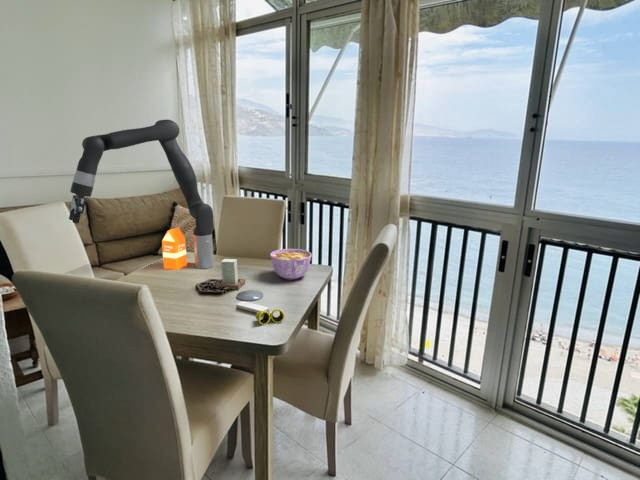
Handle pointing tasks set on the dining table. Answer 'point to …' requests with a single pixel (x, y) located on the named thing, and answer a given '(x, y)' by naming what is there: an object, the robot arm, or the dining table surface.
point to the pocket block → (232, 286)
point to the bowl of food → (290, 262)
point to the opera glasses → (267, 317)
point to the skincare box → (229, 271)
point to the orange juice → (174, 249)
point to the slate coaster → (250, 295)
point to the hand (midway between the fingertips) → (73, 221)
